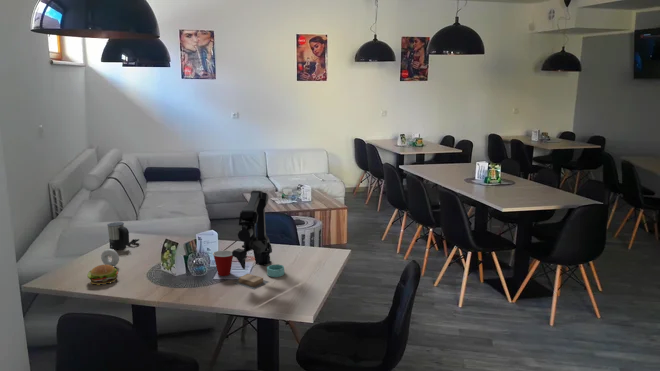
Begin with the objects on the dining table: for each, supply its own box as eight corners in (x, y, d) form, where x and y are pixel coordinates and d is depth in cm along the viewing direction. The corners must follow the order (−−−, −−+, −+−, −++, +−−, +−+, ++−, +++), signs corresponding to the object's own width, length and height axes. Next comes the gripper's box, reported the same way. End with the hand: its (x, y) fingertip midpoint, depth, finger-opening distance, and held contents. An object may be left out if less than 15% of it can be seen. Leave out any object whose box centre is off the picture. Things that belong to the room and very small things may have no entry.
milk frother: (105, 249, 290) (103, 225, 288) (121, 241, 306) (119, 218, 303) (128, 251, 288) (126, 226, 285) (142, 243, 303) (140, 219, 300)
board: (238, 282, 240) (238, 277, 239) (248, 278, 245) (247, 273, 245) (254, 286, 234) (254, 282, 234) (263, 282, 240) (263, 277, 239)
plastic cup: (239, 273, 254) (238, 250, 251) (226, 280, 244) (225, 257, 242) (222, 269, 258) (221, 247, 256) (209, 276, 249) (208, 254, 246)
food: (93, 276, 249) (91, 261, 248) (122, 275, 251) (120, 260, 249) (82, 287, 236) (80, 271, 234) (112, 286, 237) (111, 270, 236)
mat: (232, 284, 239) (232, 282, 239) (248, 277, 248) (248, 275, 248) (254, 290, 232) (254, 289, 232) (269, 283, 241) (269, 281, 240)
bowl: (264, 276, 249) (263, 268, 249) (274, 271, 256) (274, 263, 255) (276, 279, 245) (276, 271, 244) (287, 274, 252) (287, 266, 251)
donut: (100, 267, 262) (98, 249, 260) (104, 265, 266) (103, 247, 264) (117, 268, 260) (115, 250, 258) (121, 266, 263) (119, 248, 262)
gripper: (248, 243, 223) (249, 275, 226) (275, 232, 238) (275, 263, 242) (230, 238, 229) (232, 270, 232) (257, 229, 245) (258, 259, 248)
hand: (250, 266), depth 238 cm, fingers open, 9 cm apart
